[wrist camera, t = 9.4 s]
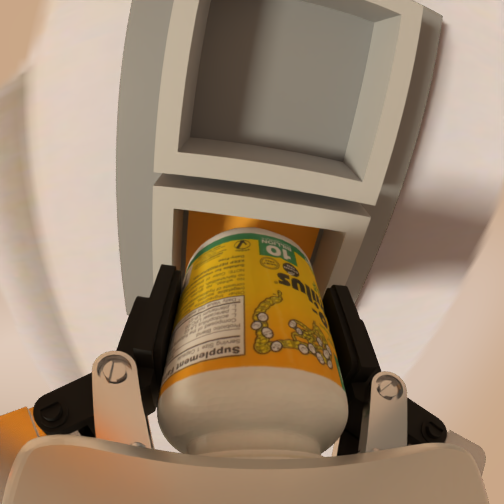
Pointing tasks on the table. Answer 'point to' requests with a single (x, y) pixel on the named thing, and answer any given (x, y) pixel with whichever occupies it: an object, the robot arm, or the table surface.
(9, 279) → the table surface
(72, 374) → the table surface
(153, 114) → the compartment tray
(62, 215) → the table surface
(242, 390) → the supplement bottle
